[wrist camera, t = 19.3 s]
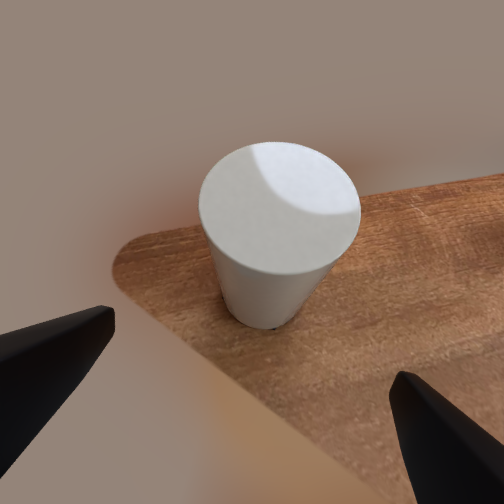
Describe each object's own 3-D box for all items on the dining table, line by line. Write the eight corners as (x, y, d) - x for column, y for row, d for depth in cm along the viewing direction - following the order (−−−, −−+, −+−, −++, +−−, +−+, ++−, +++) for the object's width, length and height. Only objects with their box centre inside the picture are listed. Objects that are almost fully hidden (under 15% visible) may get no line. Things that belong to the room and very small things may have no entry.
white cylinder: (319, 286, 22) (393, 197, 11) (265, 348, 19) (289, 314, 8) (260, 237, 23) (272, 120, 13) (205, 288, 21) (163, 199, 10)
